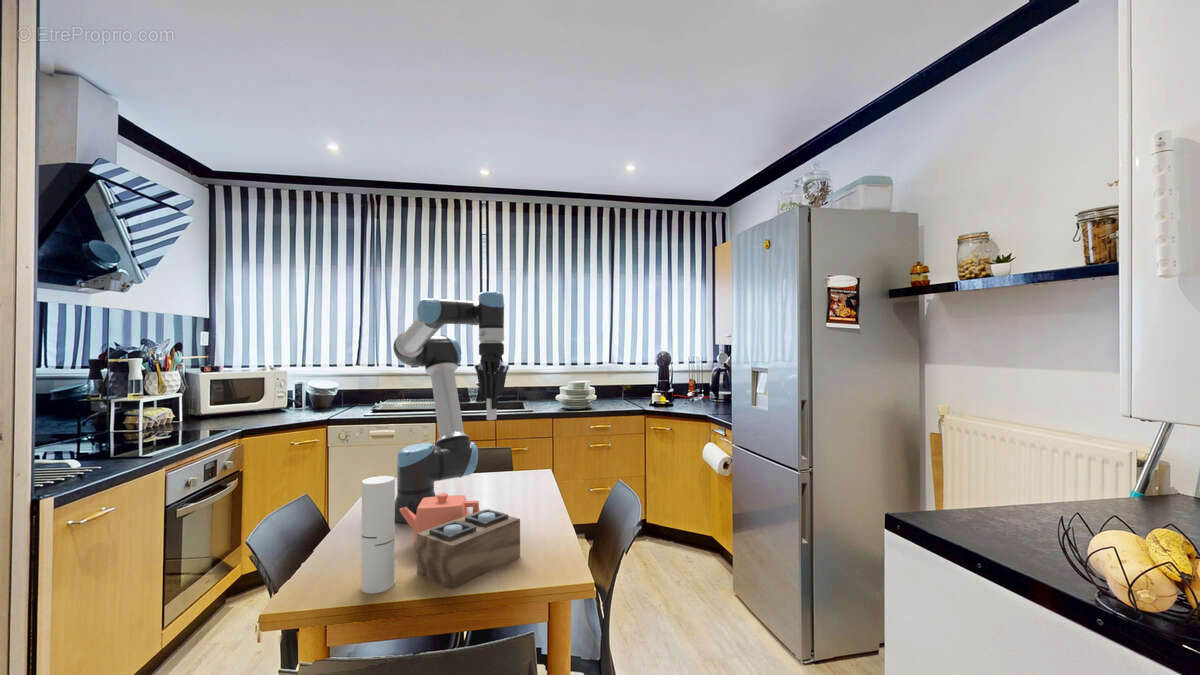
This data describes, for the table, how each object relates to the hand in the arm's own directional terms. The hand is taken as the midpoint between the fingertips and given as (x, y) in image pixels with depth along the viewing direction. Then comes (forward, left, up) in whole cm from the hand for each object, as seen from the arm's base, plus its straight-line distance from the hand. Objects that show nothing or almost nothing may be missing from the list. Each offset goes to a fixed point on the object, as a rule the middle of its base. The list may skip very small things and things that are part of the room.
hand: (491, 419), depth 148 cm
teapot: (-6, -14, -35) cm, 38 cm away
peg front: (+12, -24, -32) cm, 42 cm away
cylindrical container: (+3, -38, -35) cm, 51 cm away
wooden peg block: (+12, -18, -34) cm, 41 cm away
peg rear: (+12, -12, -32) cm, 37 cm away
